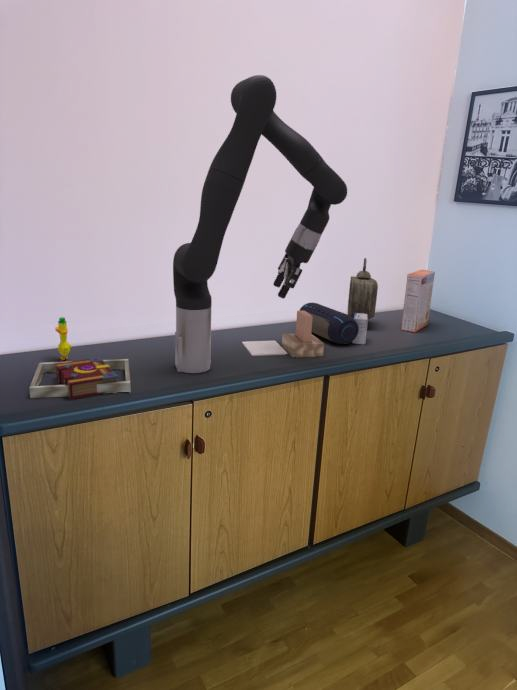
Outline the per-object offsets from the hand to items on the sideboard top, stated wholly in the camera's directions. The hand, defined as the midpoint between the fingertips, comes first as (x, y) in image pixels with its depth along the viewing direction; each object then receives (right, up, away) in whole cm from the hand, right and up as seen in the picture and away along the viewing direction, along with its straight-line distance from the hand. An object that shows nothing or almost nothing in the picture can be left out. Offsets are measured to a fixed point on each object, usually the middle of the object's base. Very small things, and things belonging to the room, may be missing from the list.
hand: (278, 291), depth 151 cm
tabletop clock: (+32, -9, +37) cm, 50 cm away
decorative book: (-48, -26, -27) cm, 61 cm away
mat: (-4, -17, +6) cm, 18 cm away
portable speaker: (+17, -13, +22) cm, 30 cm away
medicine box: (+28, -15, +19) cm, 36 cm away
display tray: (-49, -25, -26) cm, 61 cm away
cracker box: (+52, -10, +38) cm, 65 cm away
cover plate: (+7, -18, +5) cm, 20 cm away
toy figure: (-59, -20, -11) cm, 64 cm away
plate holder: (+7, -18, +5) cm, 20 cm away
